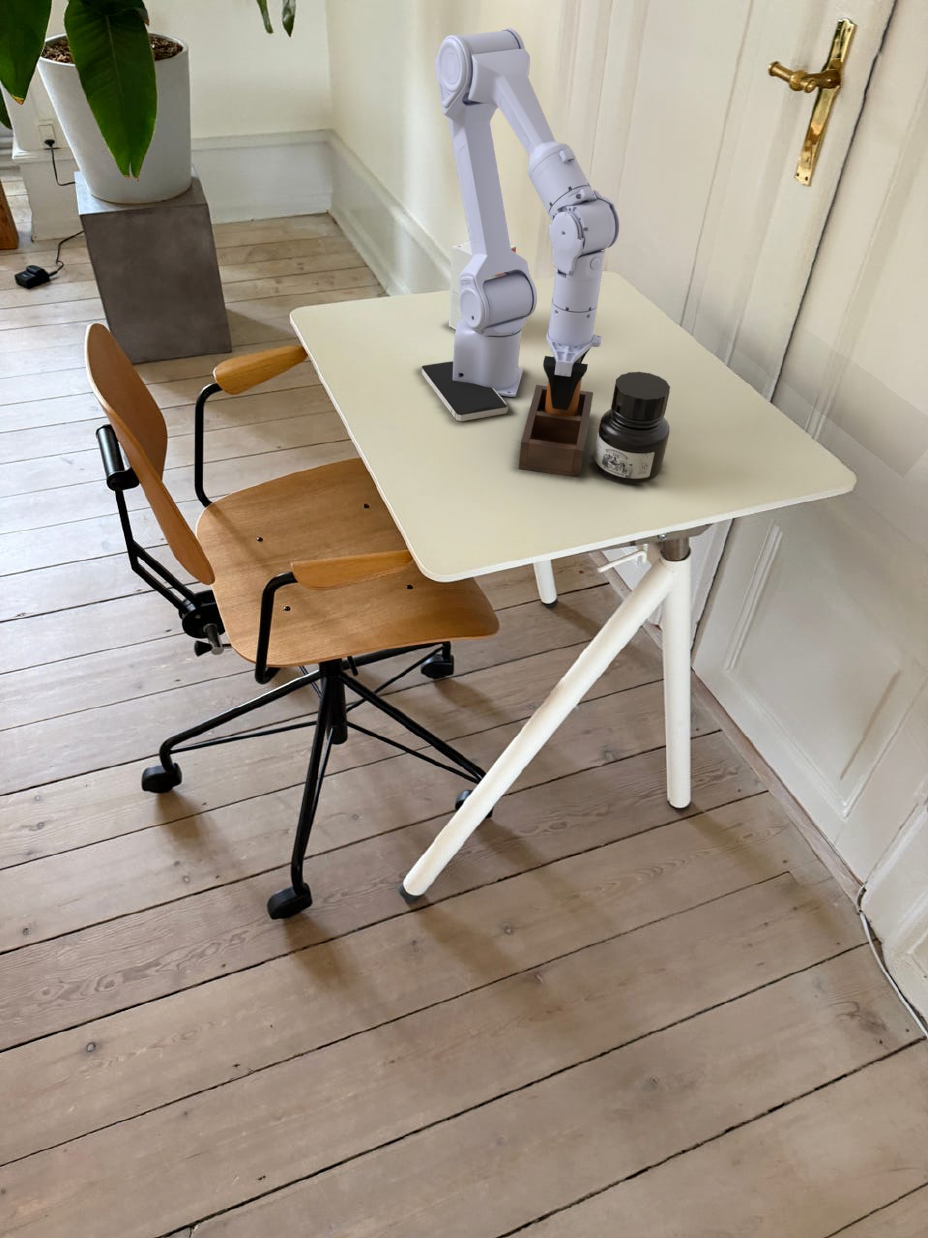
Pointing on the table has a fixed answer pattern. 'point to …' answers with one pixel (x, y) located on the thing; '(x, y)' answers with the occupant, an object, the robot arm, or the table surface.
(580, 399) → the holder
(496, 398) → the smartphone
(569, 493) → the table surface
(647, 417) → the ink bottle
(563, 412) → the spice bottle
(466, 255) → the small box
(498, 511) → the table surface
